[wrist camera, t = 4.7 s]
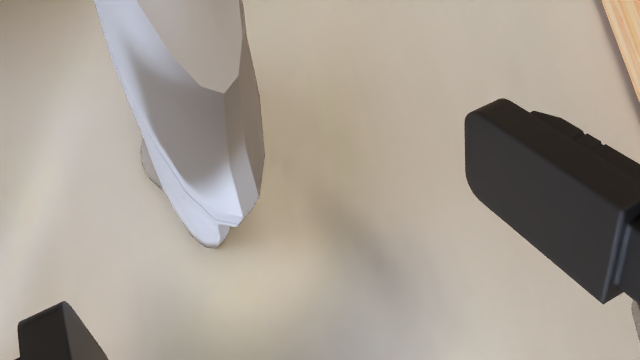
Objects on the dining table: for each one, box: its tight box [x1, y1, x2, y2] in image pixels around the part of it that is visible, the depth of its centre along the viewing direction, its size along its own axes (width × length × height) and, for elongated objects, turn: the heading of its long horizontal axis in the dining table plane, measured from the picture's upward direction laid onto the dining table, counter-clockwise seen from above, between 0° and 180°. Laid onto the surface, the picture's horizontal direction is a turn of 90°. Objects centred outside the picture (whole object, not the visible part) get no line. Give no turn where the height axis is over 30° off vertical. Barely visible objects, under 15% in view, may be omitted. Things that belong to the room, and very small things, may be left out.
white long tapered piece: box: [94, 0, 265, 248], centre depth 19 cm, size 11×4×22 cm, turn 20°
